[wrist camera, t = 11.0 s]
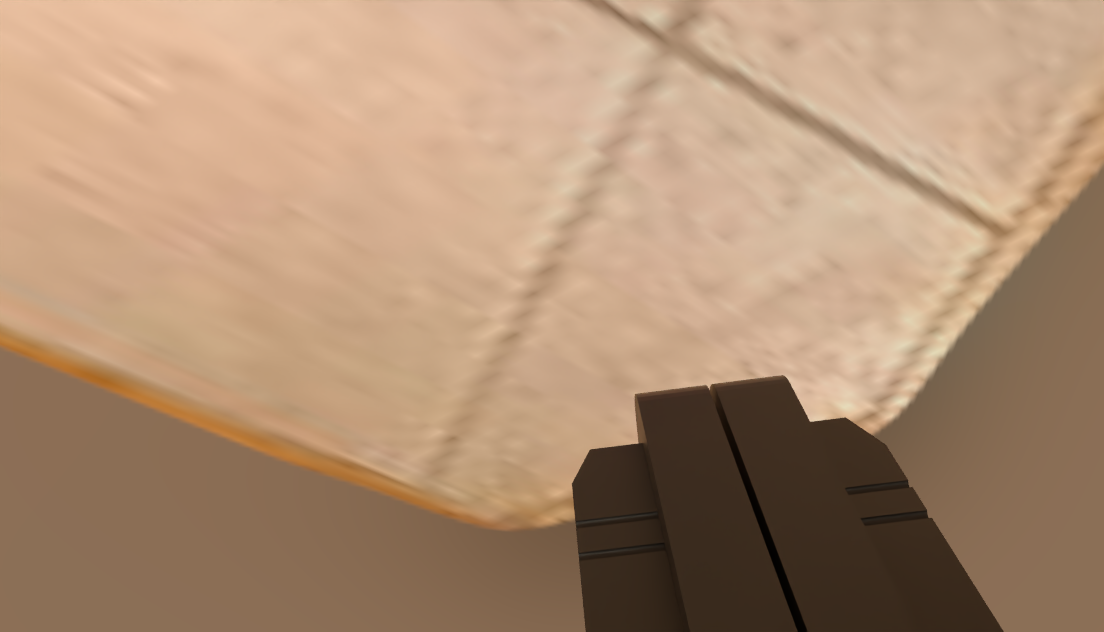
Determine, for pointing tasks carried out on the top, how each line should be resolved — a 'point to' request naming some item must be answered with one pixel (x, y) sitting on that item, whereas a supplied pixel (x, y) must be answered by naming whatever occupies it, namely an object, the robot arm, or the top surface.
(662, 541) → the robot arm
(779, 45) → the top surface
